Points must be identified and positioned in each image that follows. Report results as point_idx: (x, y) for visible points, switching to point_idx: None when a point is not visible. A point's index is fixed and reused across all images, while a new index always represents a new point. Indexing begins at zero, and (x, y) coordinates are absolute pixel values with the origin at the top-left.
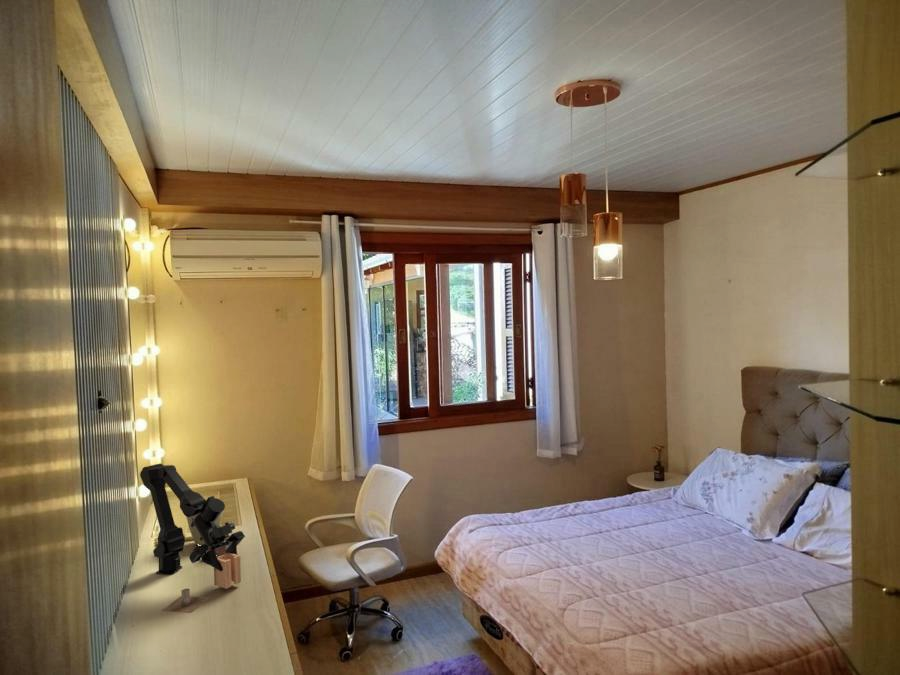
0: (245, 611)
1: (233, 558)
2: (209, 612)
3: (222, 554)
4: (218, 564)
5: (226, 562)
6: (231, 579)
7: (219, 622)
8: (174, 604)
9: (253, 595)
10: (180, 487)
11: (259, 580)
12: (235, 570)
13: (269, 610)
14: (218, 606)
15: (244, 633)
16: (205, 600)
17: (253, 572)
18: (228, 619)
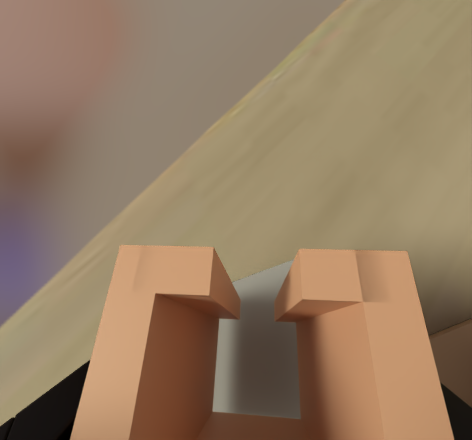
0: (349, 124)
1: (213, 291)
2: (463, 229)
3: None
4: (452, 395)
5: (378, 256)
6: (214, 377)
7: (465, 133)
8: None
9: (241, 193)
10: None
11: (102, 289)
12: (232, 284)
13: (295, 77)
14: (402, 241)
15: (431, 40)
16: (446, 337)
17: (6, 421)
18: (427, 126)
